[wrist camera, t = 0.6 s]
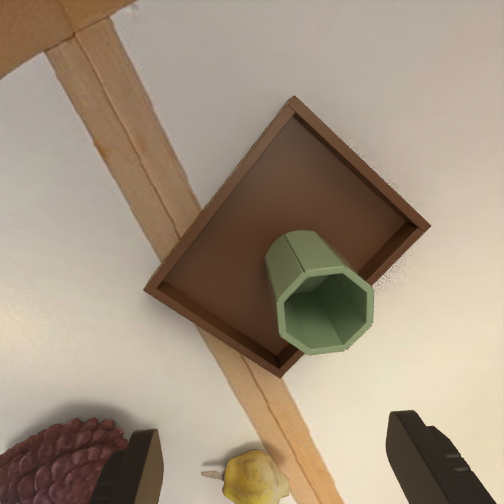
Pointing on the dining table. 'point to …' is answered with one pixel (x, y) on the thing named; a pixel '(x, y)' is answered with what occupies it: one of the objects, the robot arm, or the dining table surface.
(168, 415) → the dining table surface
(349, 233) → the tray
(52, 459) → the pine cone
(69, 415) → the dining table surface
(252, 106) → the dining table surface
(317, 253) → the cup
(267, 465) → the fruit
